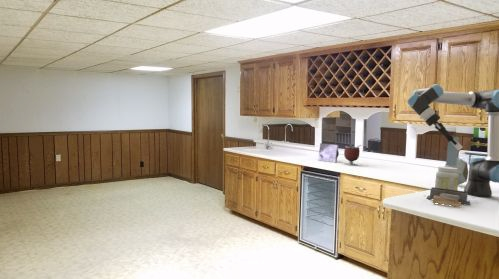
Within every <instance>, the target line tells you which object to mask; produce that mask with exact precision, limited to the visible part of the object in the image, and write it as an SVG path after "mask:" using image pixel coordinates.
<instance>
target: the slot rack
mask: <svg viewBox="0 0 499 279" xmlns="http://www.w3.org/2000/svg"><path fill="white" fill-rule="evenodd" d="M442 193H445V194H451V195H457V196H459V199H458V202H461V205H464V204H466V205H465V206H470V205H471V204H470V203H471V202H470V200H468V192H465V191H464V190H463V191H462V190H458V189H457V190H450V189H442V188H435V186H433V187H431V188H430V191H429V194H428V195H427V197H426V200H430V199H433V198H434V195H435V196H440V194H442Z"/></svg>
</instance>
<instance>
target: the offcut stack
mask: <svg viewBox="0 0 499 279" xmlns="http://www.w3.org/2000/svg"><path fill="white" fill-rule="evenodd" d="M458 199H459V196H457V195H451V194H445V193H442V194H440V196H435V195H434V198H433V200H432V203H438V204H444V205H443V206H445V205H451V206H456V207H455V208H458V207H460V206H462V204H461V202H458ZM438 204H437V205H438ZM451 206H450V207H451ZM460 208H461V207H460Z"/></svg>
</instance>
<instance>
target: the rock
mask: <svg viewBox="0 0 499 279" xmlns="http://www.w3.org/2000/svg"><path fill="white" fill-rule="evenodd" d="M444 167H452V168H457V169H458V172H457V173H458V175H459V178H458V186H459V185H462V184H464V183H467V182H468V177H469V168H468V167H469V166H468V163H467V161H465V160H464V159H462V158H459V157H457V166H449V165H446V163H445V165H444Z"/></svg>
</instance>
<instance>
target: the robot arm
mask: <svg viewBox="0 0 499 279" xmlns="http://www.w3.org/2000/svg"><path fill="white" fill-rule="evenodd" d="M406 102H407V104H408V106H409V107H410V108H411V109H412V110H413V111H414V112H415V113H416V114H417V115H418V116H419V119H421V120H423V121H424V122H425V123H426V125H428V126H429V127H431V126H433V125H434V128H435V129H436V130H437V131H438V132H439V133H440V134H442V135H443V136H444V137H445V139H446V140H447V143H448V142H451V143H452V144H453V145H454V146H455V147H456V149H457V150H458V152H459V151H461V149H463V148H464V147H463V145H462V144H461V143H460V142H459V143H458V142H457V141H456V140H455V139H454V138H453V137H456V136H453V135H452V134H451V133H450V132H449V131H448V130H447V128H446V127H445V126H444V124H443V122H439V120H440V119H441V116H440V115H439V114H438V113H436V111H435V110H434V109H433V108H432V107H431V104H433V103H435V104H445V105H446V104H447V105H456V106H457V105H458V106H459V105H460V106H466V107H467V108H474V109H479V110H485V112H484V113H485V114H486V115H487V117H488V118H487V122H488V123H487V150H486V153H487V154H486V155H487V156H485V157H471V158H470V159H469V163H468V164H469V166H468V167H469V168H468V178H467V182H466V185H465V186H464V189H463V191H465V192H468V194H467V196H468V195H469V196H473V197H475V196H476V197H481V198H483V197H484V198H492V197H493V191H492V188H491V185H490V184H491V183H490V182H493V183H498V184H499V88H498V89H488V90H482V91H469V92H462V91H461V92H459V91H447V90H446V91H445V90H444V89H443V87H442V86H441V85H439V84H436V83H435V84H433V85H431V86H429V88H428V87H427V88H419V89H415V90H413V91H412V93H411V96H410V97H409V98H408V100H407V101H406ZM448 140H449V141H448Z"/></svg>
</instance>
